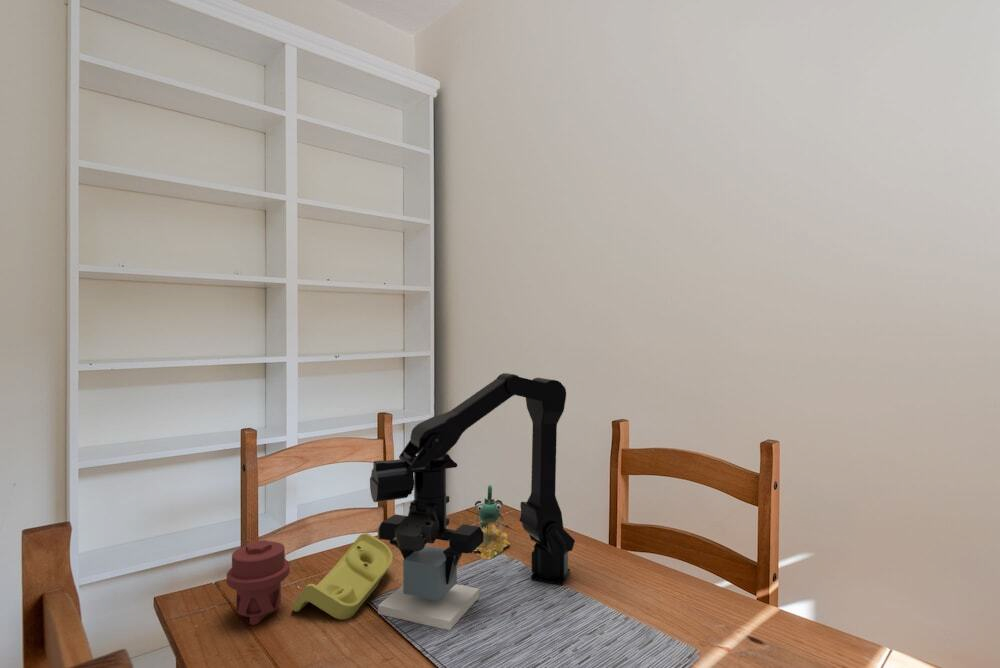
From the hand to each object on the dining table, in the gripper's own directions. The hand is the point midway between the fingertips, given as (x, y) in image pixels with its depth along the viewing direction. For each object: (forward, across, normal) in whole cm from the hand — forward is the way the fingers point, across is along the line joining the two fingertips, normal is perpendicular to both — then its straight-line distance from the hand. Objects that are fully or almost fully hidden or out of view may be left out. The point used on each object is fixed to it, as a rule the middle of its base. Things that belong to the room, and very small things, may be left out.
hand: (430, 580), depth 96 cm
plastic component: (+5, -16, -2) cm, 17 cm away
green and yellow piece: (+5, -1, +30) cm, 30 cm away
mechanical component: (+5, -26, -14) cm, 30 cm away
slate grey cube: (+2, 0, 0) cm, 2 cm away
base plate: (+4, 0, 0) cm, 4 cm away
